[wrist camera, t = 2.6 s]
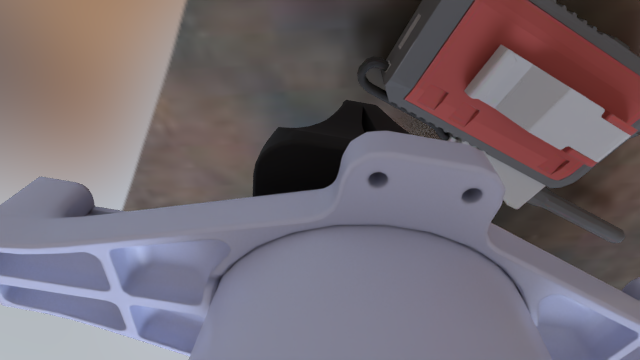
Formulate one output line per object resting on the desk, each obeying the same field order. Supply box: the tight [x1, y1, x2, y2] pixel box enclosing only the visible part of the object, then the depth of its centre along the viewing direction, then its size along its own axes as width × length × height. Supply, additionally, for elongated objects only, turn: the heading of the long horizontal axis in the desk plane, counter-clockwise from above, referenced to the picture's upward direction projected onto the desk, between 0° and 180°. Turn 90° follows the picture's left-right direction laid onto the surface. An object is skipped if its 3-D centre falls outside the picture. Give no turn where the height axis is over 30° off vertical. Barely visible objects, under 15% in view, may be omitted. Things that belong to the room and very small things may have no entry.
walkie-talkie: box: [357, 0, 640, 243], centre depth 16 cm, size 9×4×20 cm
